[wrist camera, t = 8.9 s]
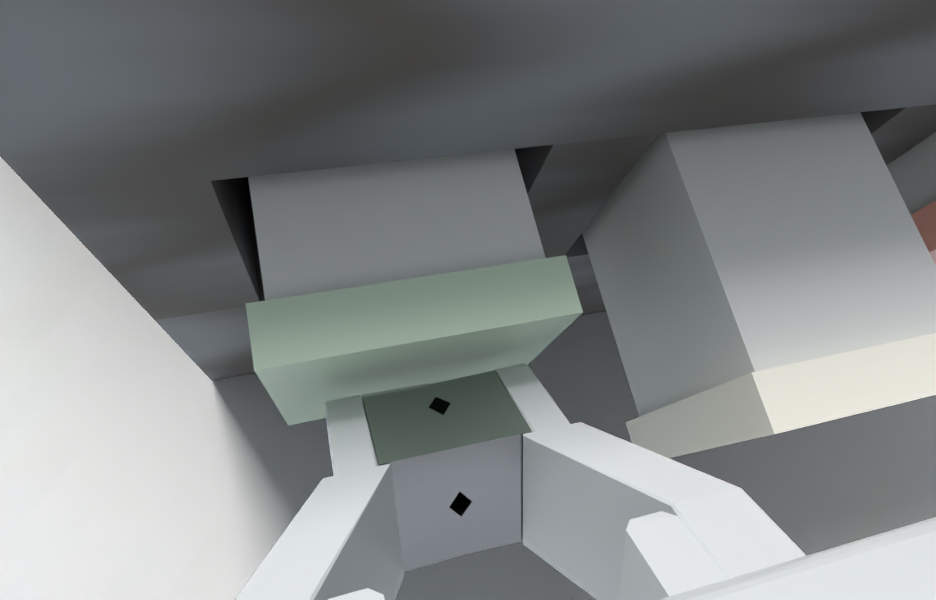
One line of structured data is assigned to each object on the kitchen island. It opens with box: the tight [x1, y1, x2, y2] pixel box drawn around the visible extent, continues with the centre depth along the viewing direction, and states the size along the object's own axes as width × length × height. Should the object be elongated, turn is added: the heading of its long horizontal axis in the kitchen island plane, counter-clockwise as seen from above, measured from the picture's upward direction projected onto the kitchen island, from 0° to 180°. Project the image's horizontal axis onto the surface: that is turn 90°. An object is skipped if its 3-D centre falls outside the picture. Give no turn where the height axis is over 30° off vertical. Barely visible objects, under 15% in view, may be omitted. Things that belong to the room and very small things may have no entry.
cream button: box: [582, 112, 936, 458], centre depth 11 cm, size 4×5×4 cm
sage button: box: [246, 149, 583, 426], centre depth 10 cm, size 4×5×4 cm
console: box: [0, 0, 936, 380], centre depth 14 cm, size 20×8×12 cm, turn 103°
